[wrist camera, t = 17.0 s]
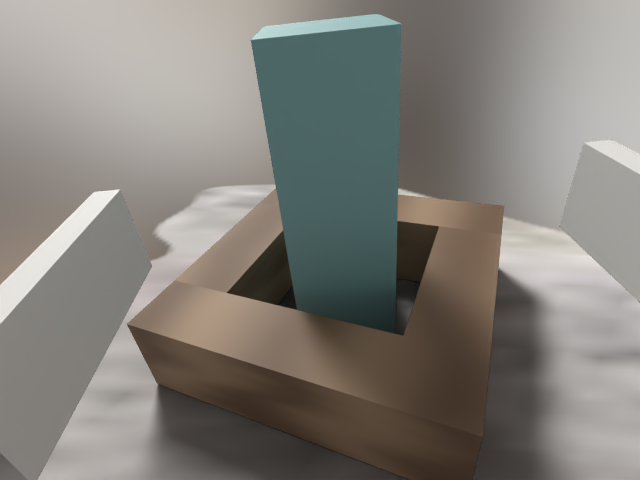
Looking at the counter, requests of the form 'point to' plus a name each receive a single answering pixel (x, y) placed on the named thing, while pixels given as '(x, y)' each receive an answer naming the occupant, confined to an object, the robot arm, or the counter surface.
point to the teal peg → (336, 160)
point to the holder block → (341, 342)
